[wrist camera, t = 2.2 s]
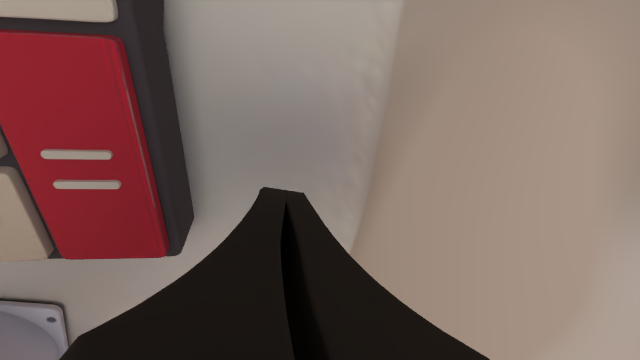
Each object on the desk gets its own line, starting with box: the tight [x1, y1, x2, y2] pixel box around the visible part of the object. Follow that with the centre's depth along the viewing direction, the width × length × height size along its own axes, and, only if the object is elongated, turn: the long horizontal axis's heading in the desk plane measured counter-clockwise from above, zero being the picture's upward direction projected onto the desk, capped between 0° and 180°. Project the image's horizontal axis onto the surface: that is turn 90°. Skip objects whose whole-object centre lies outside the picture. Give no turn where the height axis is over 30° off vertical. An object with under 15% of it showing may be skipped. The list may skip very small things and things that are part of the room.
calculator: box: [0, 0, 194, 261], centre depth 13 cm, size 11×4×15 cm
